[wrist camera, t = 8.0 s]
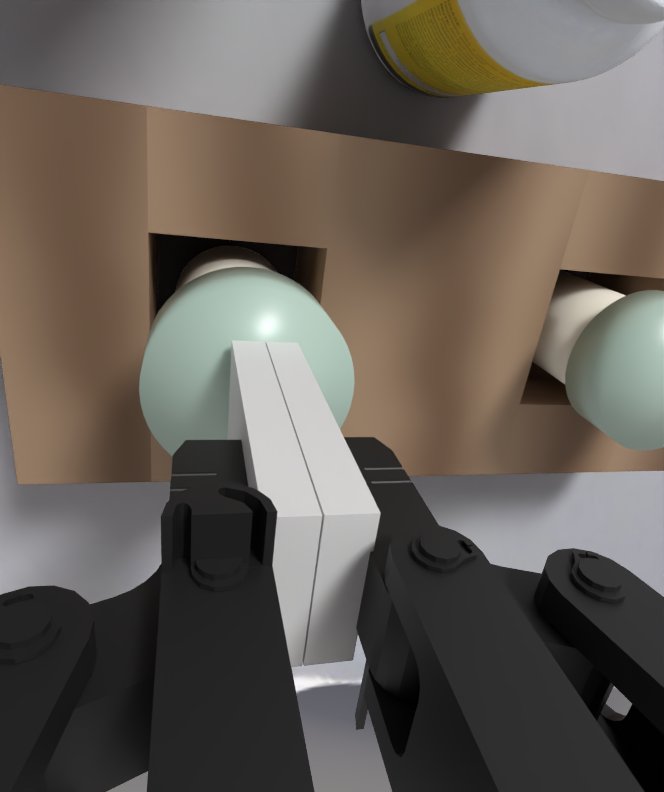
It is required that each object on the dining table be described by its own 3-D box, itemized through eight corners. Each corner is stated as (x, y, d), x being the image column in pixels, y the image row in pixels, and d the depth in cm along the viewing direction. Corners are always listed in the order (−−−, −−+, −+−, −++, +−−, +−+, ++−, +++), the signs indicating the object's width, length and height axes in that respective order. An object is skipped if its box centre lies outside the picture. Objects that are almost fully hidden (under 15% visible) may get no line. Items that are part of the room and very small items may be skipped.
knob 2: (474, 362, 25) (580, 451, 19) (502, 248, 23) (635, 301, 16) (569, 365, 27) (702, 450, 20) (604, 259, 25) (768, 311, 18)
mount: (50, 415, 23) (17, 484, 18) (19, 90, 18) (-37, 79, 14) (610, 420, 30) (682, 470, 26) (699, 188, 25) (806, 202, 21)
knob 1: (158, 362, 21) (141, 483, 14) (157, 221, 19) (136, 278, 12) (293, 367, 22) (339, 478, 15) (306, 235, 20) (368, 294, 13)
